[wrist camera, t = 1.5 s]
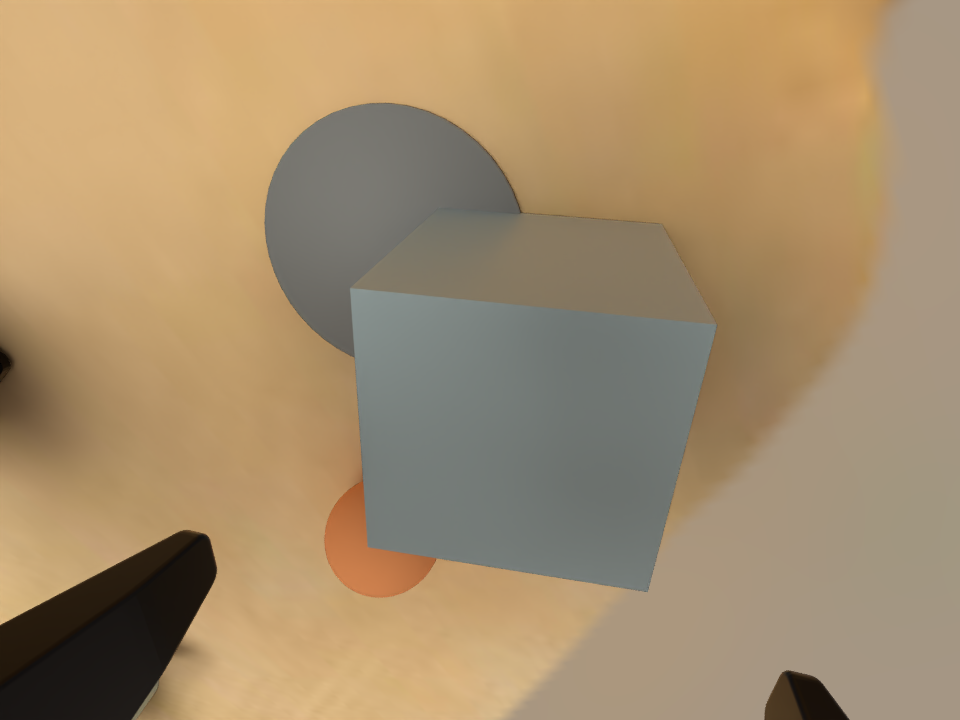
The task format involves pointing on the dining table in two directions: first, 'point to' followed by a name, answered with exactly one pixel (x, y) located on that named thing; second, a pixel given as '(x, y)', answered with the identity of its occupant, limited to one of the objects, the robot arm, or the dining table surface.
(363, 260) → the circle
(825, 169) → the dining table surface
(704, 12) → the dining table surface
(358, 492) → the ball
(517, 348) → the gray-blue matte cube
